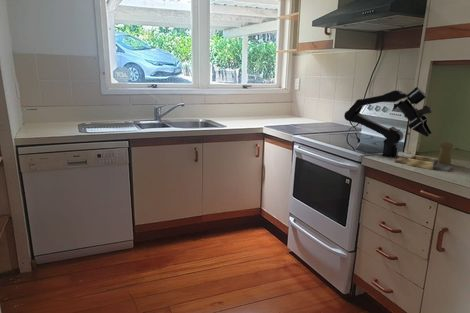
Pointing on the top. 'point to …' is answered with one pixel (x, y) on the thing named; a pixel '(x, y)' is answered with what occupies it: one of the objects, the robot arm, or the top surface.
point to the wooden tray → (423, 163)
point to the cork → (445, 153)
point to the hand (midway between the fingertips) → (429, 134)
